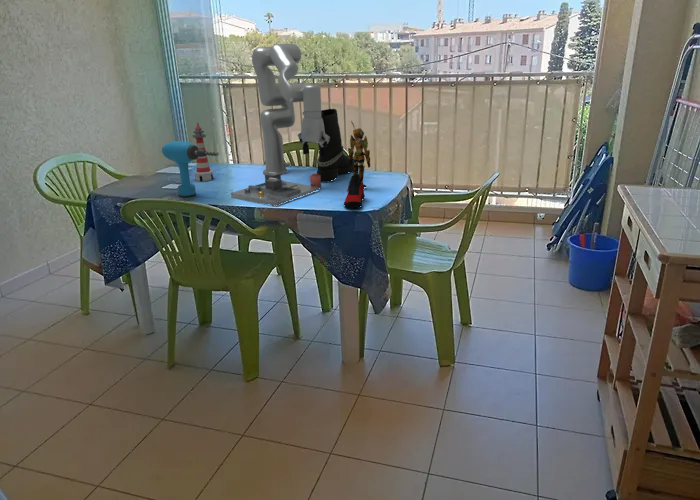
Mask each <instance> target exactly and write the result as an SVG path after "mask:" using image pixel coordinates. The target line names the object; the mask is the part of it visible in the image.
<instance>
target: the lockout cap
mask: <svg viewBox="0 0 700 500" xmlns="http://www.w3.org/2000/svg"><path fill="white" fill-rule="evenodd" d="M309 180H310V181H309V182H310V185H311V186H317V187H319V188H320V187H321V188H322V186H321V185H322V184H321V183H322V182H321V177H320V175H318V174H317V173H312V174H310V175H309Z"/></svg>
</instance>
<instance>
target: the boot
mask: <svg viewBox="0 0 700 500" xmlns="http://www.w3.org/2000/svg"><path fill="white" fill-rule="evenodd" d="M321 115H322V118H323V123H324V129H325V134H327V135H328V136H329V137H330V140H329V143H328V144H327V146H326V156H322V157H321V156H320V147H321V146H320V144H319V143H317V146H318V149H319V150H318V158H317V159H316V165H317V170H316V174H318V175H320V177H321V181H331V180H334V179H335V178H337V176H338V177H339V175H344V174H343V173H348V172H352V171H354V161H352V166H351V165H350V160H349V155H345V153H344V152H345V150H344V146H343V145H342V143H343V142H342V136H341V135H342V134H341V128H340V125H339V116H338V110H337V109H336V108H328V109H327V108H326V109H321ZM325 140H326V139H325ZM325 140H324V141H325ZM352 173H353V172H352ZM338 174H339V175H338ZM337 179H338V178H337Z"/></svg>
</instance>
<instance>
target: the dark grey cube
mask: <svg viewBox="0 0 700 500" xmlns="http://www.w3.org/2000/svg"><path fill="white" fill-rule="evenodd" d="M268 173H269V174H264V182H265V181H266V180H269V178H277V179H280V180H282V176H281V175H282V174H278V173H274V172H268Z"/></svg>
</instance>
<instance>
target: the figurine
mask: <svg viewBox="0 0 700 500" xmlns="http://www.w3.org/2000/svg"><path fill="white" fill-rule="evenodd" d="M350 123H351V125H352V127H353V130H352V132H353V134H351V135H350V139H349V140H350V141H349V144H350V145H349V147H348V148H347V150H348V151H347V152H348V156H349V160H350V165H351V166H352V161H354V171H353V172H352V175H354V174H359V177H360V178H361V180H362V183H363V187H367V185H366V184H364V174H365V167H366V166H365V164H364V163H365V161H366V164H367V168H371V157H370V149H368V147H369V146H368V145H369V143H368V137H367V135H365V131H363V130H362V129H361V127H359V128H355V125H354V122H353V121H352V120H351V122H350ZM364 135H365V136H364ZM354 150H355V151H354Z"/></svg>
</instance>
